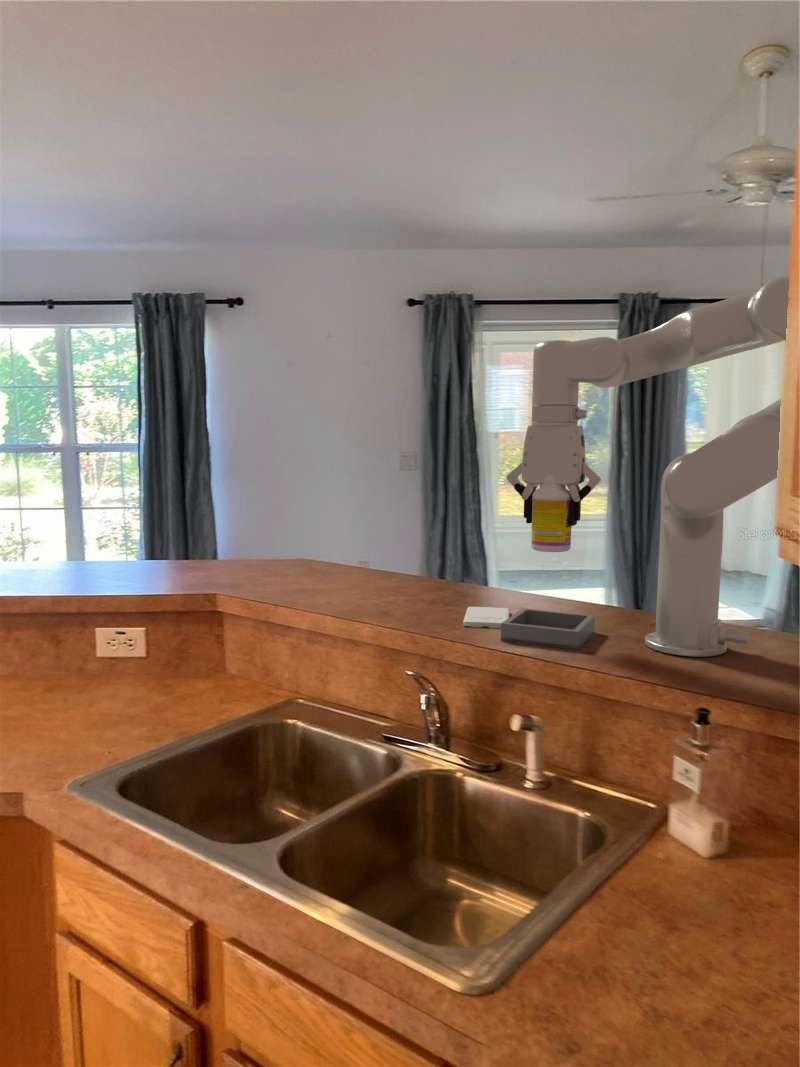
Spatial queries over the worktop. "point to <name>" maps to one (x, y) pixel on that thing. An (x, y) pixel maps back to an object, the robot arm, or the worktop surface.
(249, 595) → the worktop surface
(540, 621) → the tray
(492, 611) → the external hard drive
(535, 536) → the supplement bottle
